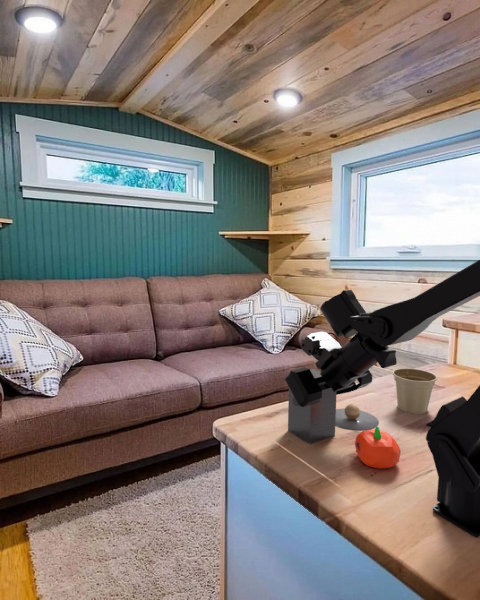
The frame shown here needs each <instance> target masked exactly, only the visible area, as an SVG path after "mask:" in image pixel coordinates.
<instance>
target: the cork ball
mask: <svg viewBox="0 0 480 600" xmlns="http://www.w3.org/2000/svg"><path fill="white" fill-rule="evenodd" d="M344 409H345V415H346V417H347V418H349V419H351V420H354V419H357V418H358V417H359V415H360V411H361V410H360V408H359V407H358V406H357V405H356V404H354V403H349V404H348V405H346V406H345V407H344Z"/></svg>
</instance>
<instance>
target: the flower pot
mask: <svg viewBox="0 0 480 600" xmlns="http://www.w3.org/2000/svg"><path fill="white" fill-rule="evenodd" d="M392 375H393V377H394V378H393V379H394V381H395V389H396V391H395V392H396V400H397V408H398V409H399V410H401V411H403V412H405V413H410V414H417V415H420V414H425V413H427V411H428V409H429V404H430V399H431V395H432V392H433V391H432V390H433V387H434V386H435V384H436V381H437V380H438V376H437V375H436V374H435V373H433V372H430V371H428V370H424V369H419V368H409V367H406V368H404V367H403V368H396V369H394V370H392Z"/></svg>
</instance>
